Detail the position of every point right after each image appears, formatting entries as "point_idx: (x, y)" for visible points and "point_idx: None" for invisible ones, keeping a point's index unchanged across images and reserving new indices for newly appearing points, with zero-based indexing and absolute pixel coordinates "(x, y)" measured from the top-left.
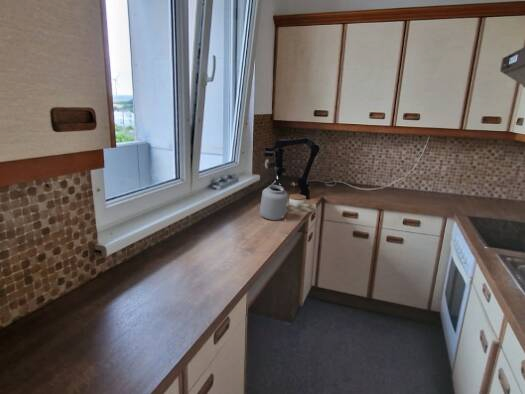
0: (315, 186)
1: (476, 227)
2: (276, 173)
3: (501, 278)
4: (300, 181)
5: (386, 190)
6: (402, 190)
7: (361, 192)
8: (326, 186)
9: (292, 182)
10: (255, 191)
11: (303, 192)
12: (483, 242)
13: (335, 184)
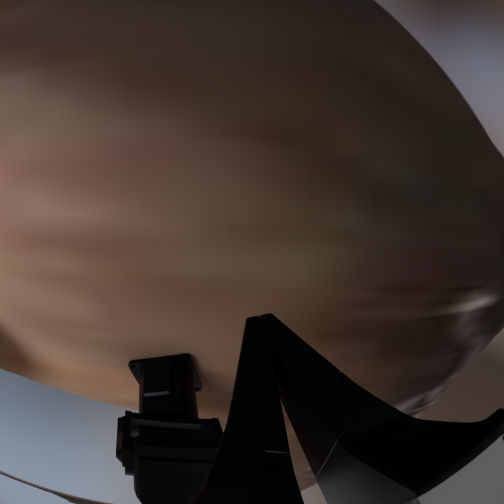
0: (409, 381)
1: (69, 496)
2: (325, 409)
3: None
4: (135, 475)
5: (307, 478)
6: (302, 486)
7: (293, 466)
8: (394, 405)
9: (492, 297)
10: (384, 12)
11: (140, 407)
12: (10, 476)
13: (404, 413)
